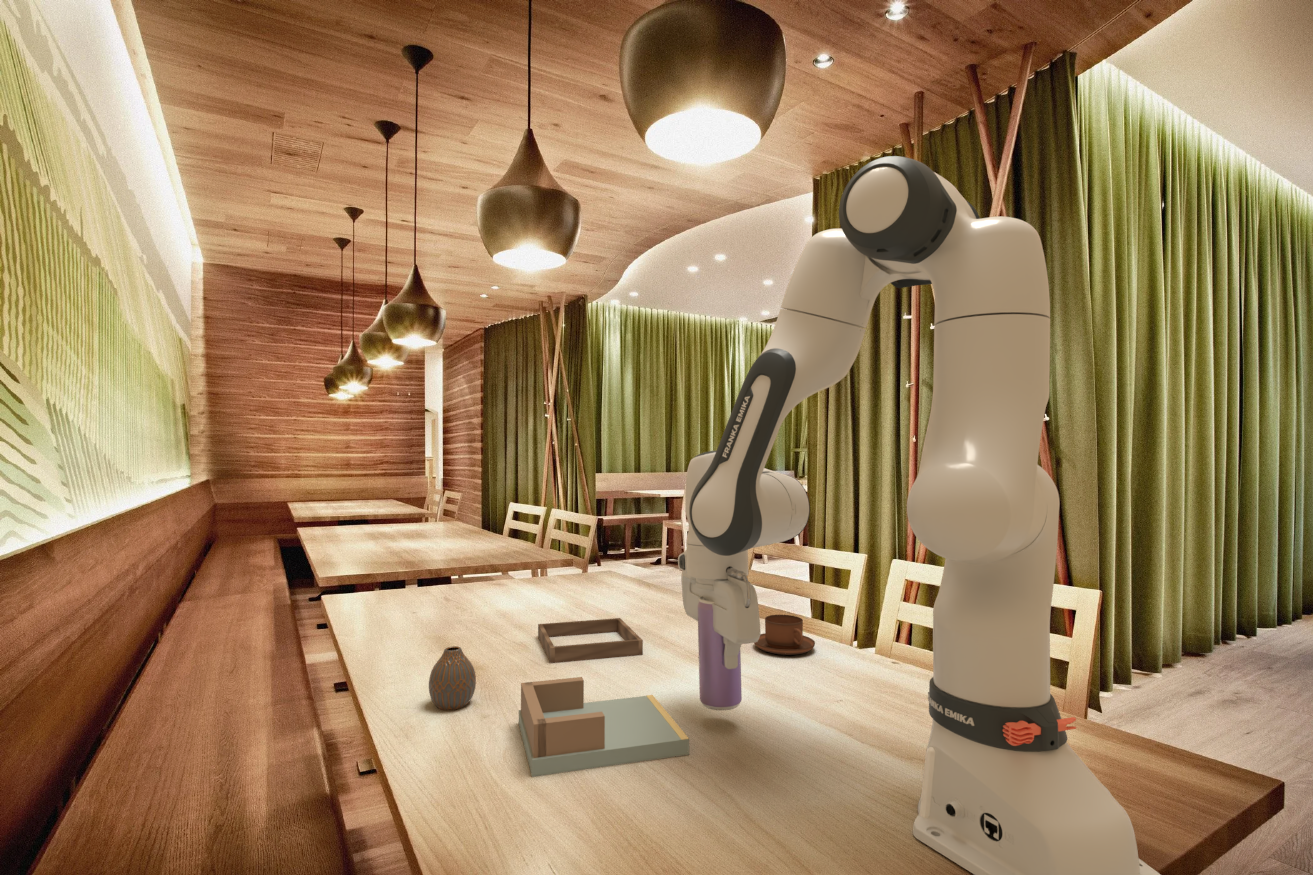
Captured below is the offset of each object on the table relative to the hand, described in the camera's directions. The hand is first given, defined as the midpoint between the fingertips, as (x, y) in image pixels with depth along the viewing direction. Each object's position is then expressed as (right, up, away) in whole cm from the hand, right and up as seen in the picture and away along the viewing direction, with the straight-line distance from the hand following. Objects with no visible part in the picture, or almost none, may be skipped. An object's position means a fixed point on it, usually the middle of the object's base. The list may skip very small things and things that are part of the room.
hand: (720, 660), depth 94 cm
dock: (-17, -9, -5) cm, 20 cm away
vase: (-40, -10, +7) cm, 42 cm away
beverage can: (0, -6, 0) cm, 6 cm away
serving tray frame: (-23, -10, +37) cm, 45 cm away
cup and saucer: (+16, -10, +36) cm, 41 cm away
